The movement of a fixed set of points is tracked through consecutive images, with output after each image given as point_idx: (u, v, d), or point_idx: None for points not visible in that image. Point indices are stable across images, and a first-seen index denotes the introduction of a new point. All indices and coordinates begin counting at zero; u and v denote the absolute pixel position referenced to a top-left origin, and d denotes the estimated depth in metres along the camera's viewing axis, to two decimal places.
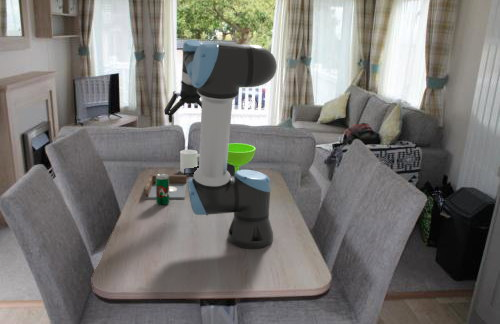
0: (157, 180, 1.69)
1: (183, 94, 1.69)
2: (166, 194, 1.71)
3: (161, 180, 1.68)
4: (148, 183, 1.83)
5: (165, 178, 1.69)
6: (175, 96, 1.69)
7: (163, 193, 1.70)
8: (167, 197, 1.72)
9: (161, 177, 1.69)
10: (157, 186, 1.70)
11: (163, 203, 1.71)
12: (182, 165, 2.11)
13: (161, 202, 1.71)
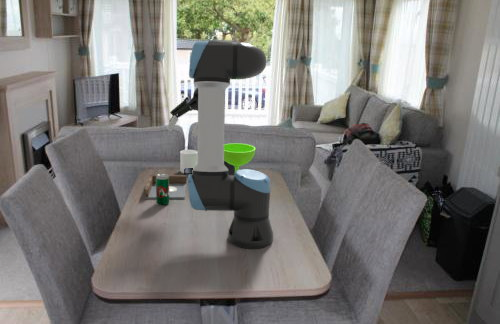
0: (157, 180, 1.69)
1: (192, 98, 1.81)
2: (166, 194, 1.71)
3: (161, 180, 1.68)
4: (148, 183, 1.83)
5: (165, 178, 1.69)
6: (186, 99, 1.83)
7: (163, 193, 1.70)
8: (167, 197, 1.72)
9: (161, 177, 1.69)
10: (157, 186, 1.70)
11: (163, 203, 1.71)
12: (182, 165, 2.11)
13: (161, 202, 1.71)
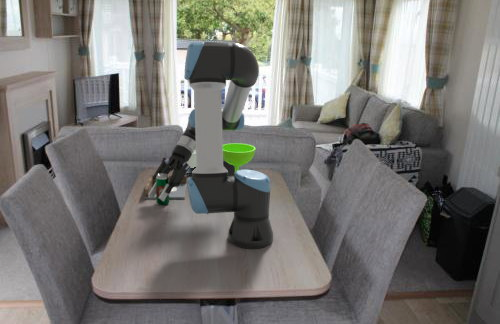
0: (157, 180, 1.69)
1: (171, 156, 1.77)
2: None
3: (161, 180, 1.68)
4: (148, 183, 1.83)
5: (165, 178, 1.69)
6: (164, 159, 1.78)
7: None
8: (167, 197, 1.72)
9: (161, 177, 1.69)
10: (157, 186, 1.70)
11: (163, 203, 1.71)
12: None
13: (161, 202, 1.71)
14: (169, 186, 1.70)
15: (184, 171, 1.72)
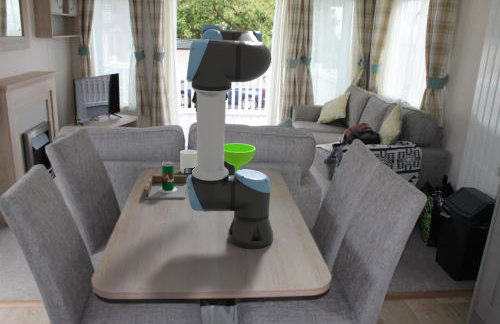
0: (163, 167, 1.82)
1: None
2: (171, 180, 1.84)
3: (166, 167, 1.82)
4: (148, 183, 1.83)
5: (170, 165, 1.82)
6: None
7: (168, 179, 1.83)
8: (172, 183, 1.85)
9: (167, 164, 1.82)
10: (163, 173, 1.83)
11: (168, 188, 1.84)
12: (182, 165, 2.11)
13: (166, 188, 1.84)
14: None
15: None
